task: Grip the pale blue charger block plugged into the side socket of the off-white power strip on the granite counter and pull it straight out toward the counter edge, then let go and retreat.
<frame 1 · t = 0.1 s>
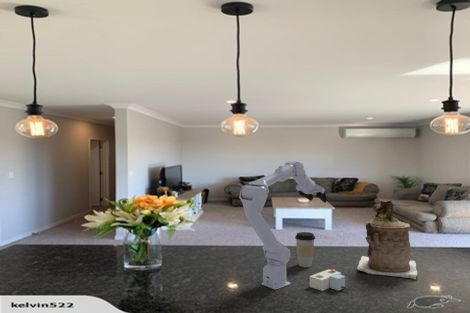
hand: (318, 199, 167), 32 cm above the counter, tool tilted 50°, fingers open, 7 cm apart
coffee cup: (305, 265, 173), on the counter
charger: (338, 282, 144), point 3 cm above the counter, slide at 0.0 cm
cookie jar: (387, 269, 168), on the counter
power strip: (325, 284, 148), on the counter
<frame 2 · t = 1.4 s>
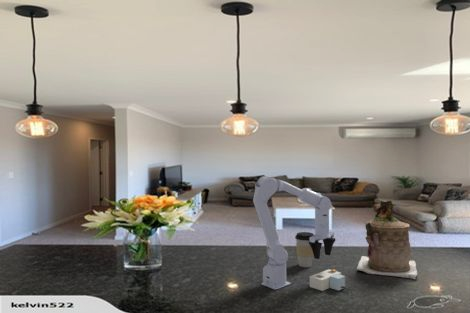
hand: (322, 256, 153), 10 cm above the counter, tool pointing down, fingers open, 7 cm apart
nothing on the counter moved.
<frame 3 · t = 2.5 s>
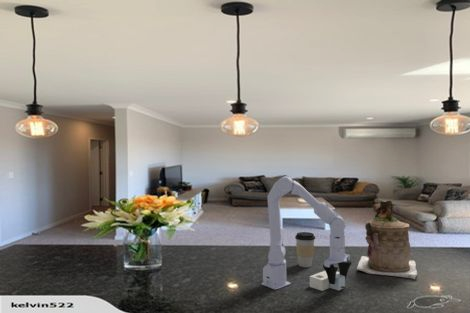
hand: (337, 281, 144), 3 cm above the counter, tool pointing down, fingers open, 7 cm apart
nothing on the counter moved.
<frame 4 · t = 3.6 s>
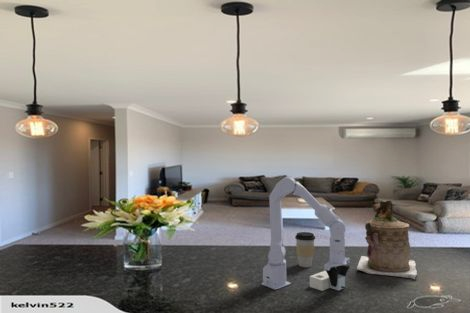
hand: (337, 284, 144), 2 cm above the counter, tool pointing down, fingers closed on charger, 4 cm apart
charger: (338, 282, 144), point 3 cm above the counter, slide at 0.0 cm, touching gripper
everything else where it was.
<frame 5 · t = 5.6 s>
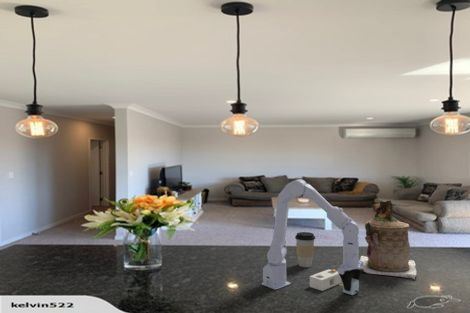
hand: (351, 288, 139), 2 cm above the counter, tool pointing down, fingers closed on charger, 4 cm apart
charger: (351, 286, 139), point 3 cm above the counter, slide at 6.0 cm, touching gripper
everything else where it was.
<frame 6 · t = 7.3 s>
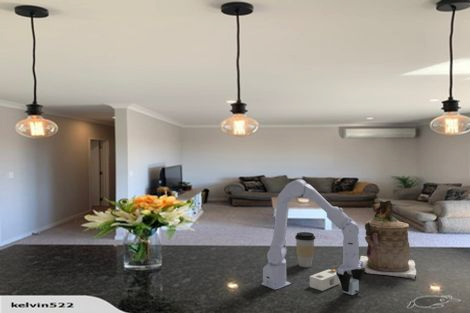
hand: (351, 288, 139), 2 cm above the counter, tool pointing down, fingers open, 7 cm apart
charger: (351, 286, 139), point 3 cm above the counter, slide at 6.0 cm
everything else where it was.
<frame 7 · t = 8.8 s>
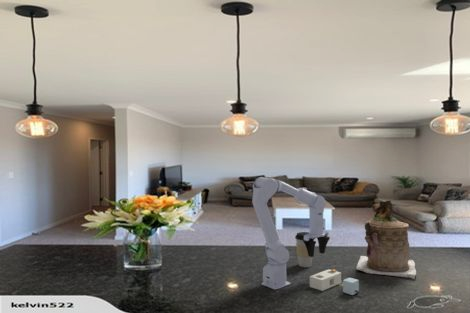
hand: (316, 254, 156), 10 cm above the counter, tool pointing down, fingers open, 7 cm apart
nothing on the counter moved.
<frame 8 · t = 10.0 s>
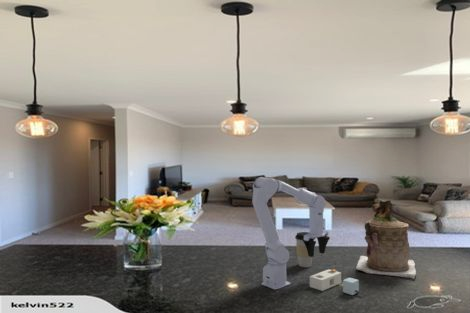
hand: (316, 254, 156), 10 cm above the counter, tool pointing down, fingers open, 7 cm apart
nothing on the counter moved.
at the end: charger slide at 6.0 cm; the gripper is holding nothing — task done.
